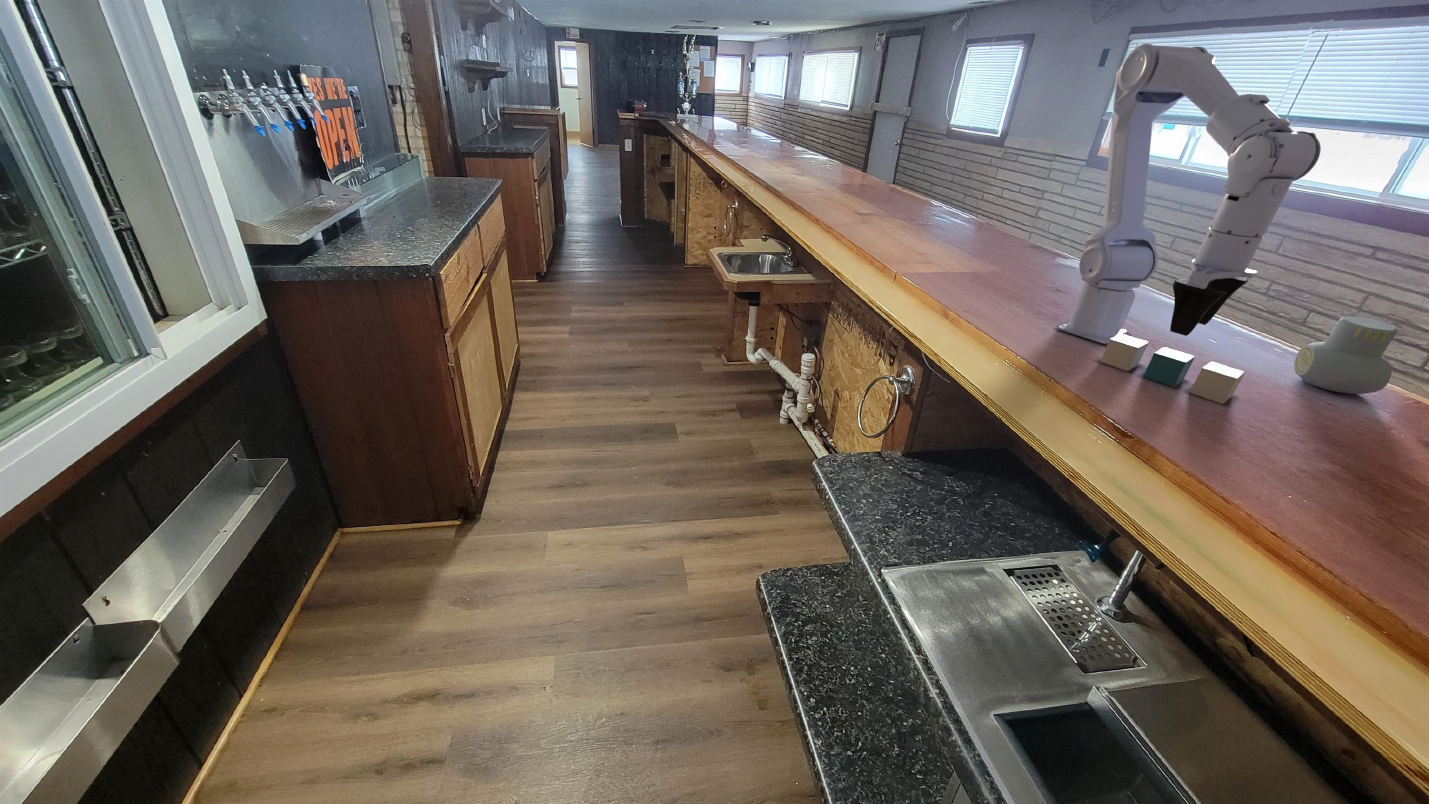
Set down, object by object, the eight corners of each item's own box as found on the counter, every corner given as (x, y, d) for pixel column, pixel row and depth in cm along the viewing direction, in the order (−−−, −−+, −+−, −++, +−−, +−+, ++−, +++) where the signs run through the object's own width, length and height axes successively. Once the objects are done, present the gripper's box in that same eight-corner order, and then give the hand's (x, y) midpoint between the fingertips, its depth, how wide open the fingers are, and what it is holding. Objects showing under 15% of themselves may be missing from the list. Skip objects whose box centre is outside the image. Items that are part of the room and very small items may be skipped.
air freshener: (1378, 408, 79) (1425, 342, 74) (1300, 391, 83) (1341, 327, 78) (1354, 379, 87) (1396, 318, 82) (1285, 365, 91) (1321, 306, 86)
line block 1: (1110, 356, 91) (1120, 333, 89) (1138, 365, 89) (1148, 342, 87) (1100, 361, 89) (1109, 338, 87) (1127, 371, 86) (1138, 347, 84)
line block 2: (1198, 385, 83) (1211, 361, 81) (1231, 396, 80) (1245, 371, 78) (1189, 392, 81) (1202, 367, 79) (1222, 404, 78) (1237, 378, 76)
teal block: (1152, 370, 87) (1164, 346, 85) (1183, 380, 84) (1195, 356, 82) (1142, 376, 85) (1154, 352, 83) (1173, 387, 82) (1185, 362, 80)
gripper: (1258, 246, 68) (1204, 348, 75) (1289, 232, 76) (1237, 326, 82) (1189, 233, 73) (1145, 330, 79) (1225, 221, 80) (1181, 311, 87)
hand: (1188, 327), depth 81 cm, fingers open, 7 cm apart
